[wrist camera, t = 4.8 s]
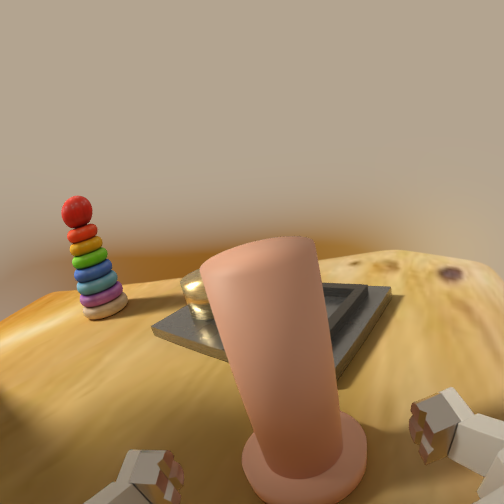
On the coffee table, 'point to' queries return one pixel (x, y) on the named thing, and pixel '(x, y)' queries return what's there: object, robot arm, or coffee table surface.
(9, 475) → the coffee table surface
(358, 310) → the carrier plate
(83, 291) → the stacking toy
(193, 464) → the coffee table surface
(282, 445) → the pink peg on base
